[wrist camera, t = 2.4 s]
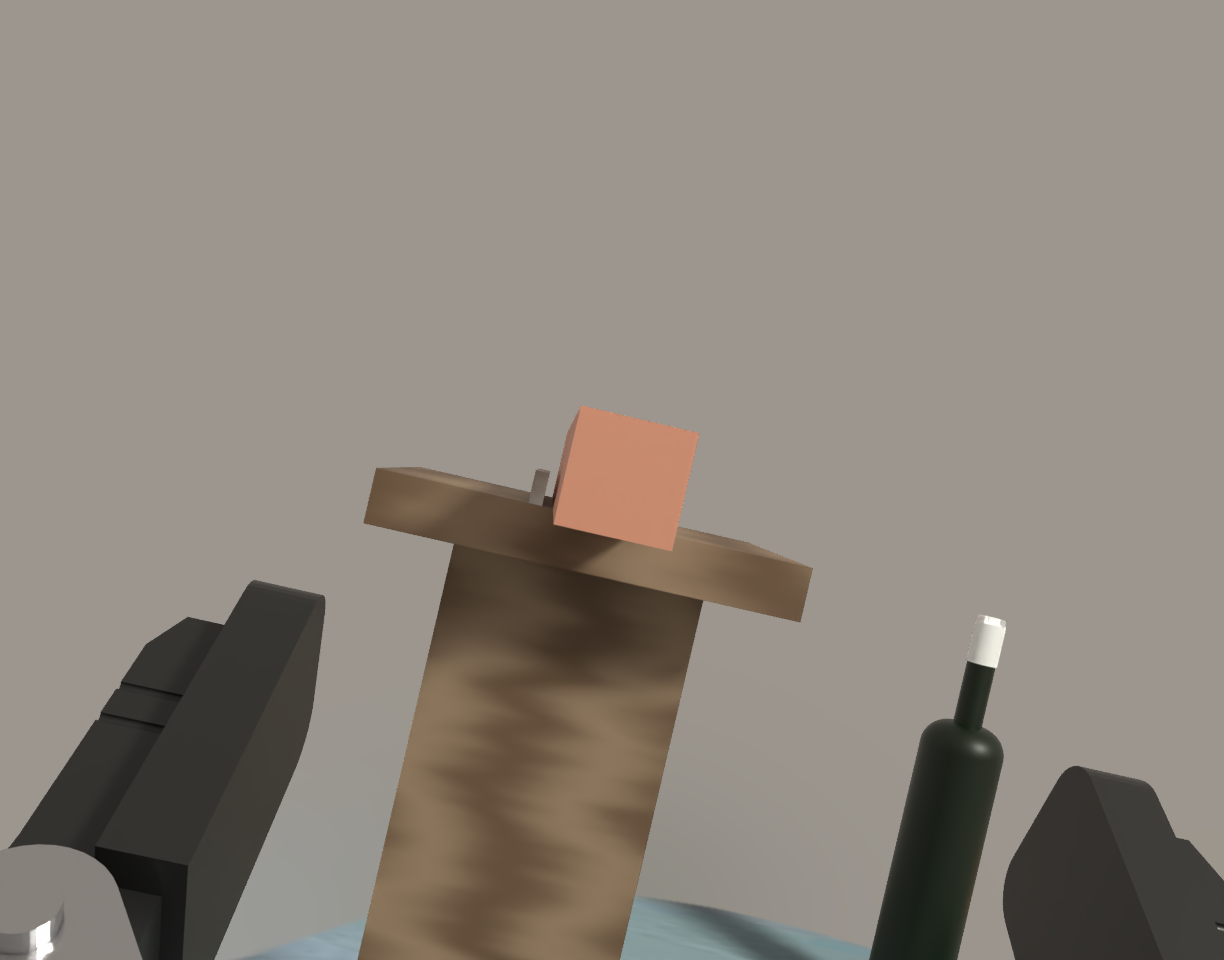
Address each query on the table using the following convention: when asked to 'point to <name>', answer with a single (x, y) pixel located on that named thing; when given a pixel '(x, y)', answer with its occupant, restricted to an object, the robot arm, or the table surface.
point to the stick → (623, 478)
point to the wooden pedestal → (541, 719)
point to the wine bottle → (944, 819)
